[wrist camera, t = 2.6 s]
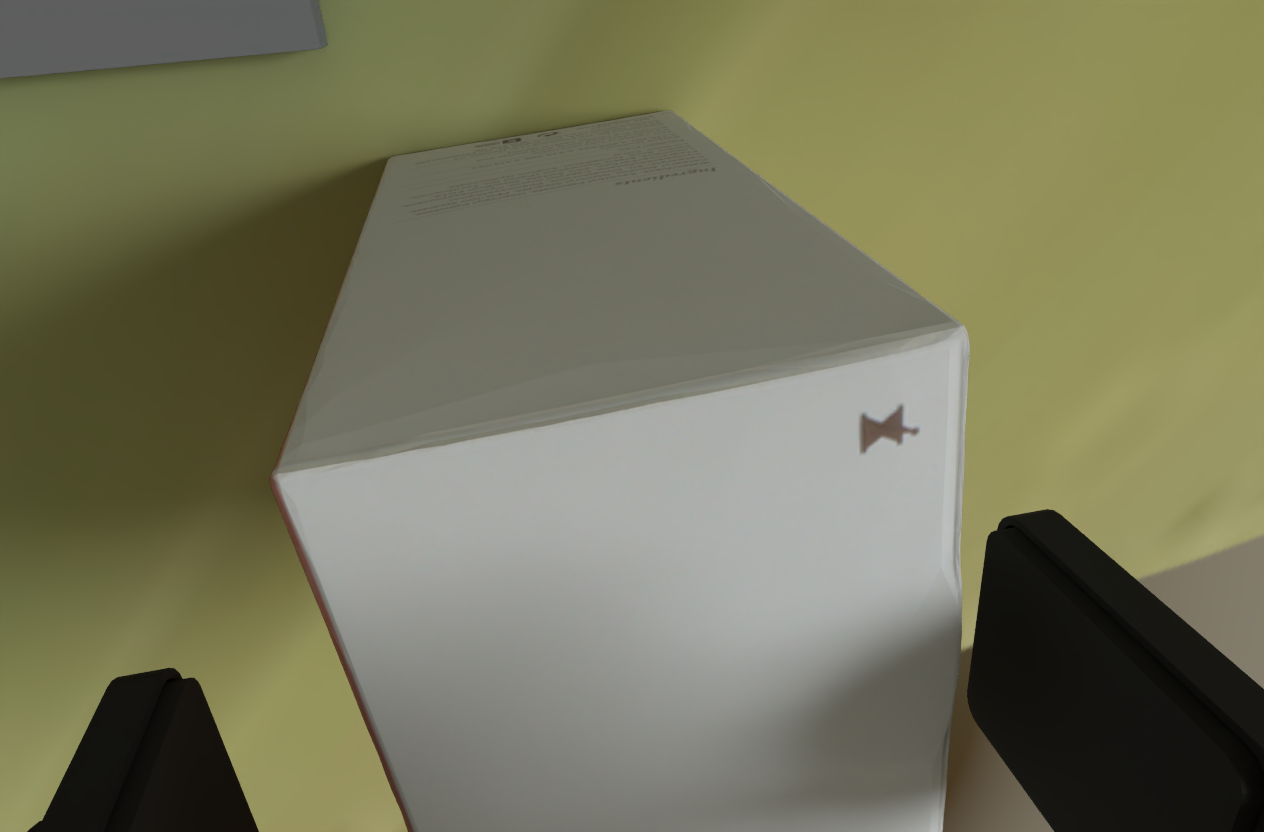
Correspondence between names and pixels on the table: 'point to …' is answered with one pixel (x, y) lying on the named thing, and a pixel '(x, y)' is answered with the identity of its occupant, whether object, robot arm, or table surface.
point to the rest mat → (148, 32)
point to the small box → (633, 496)
